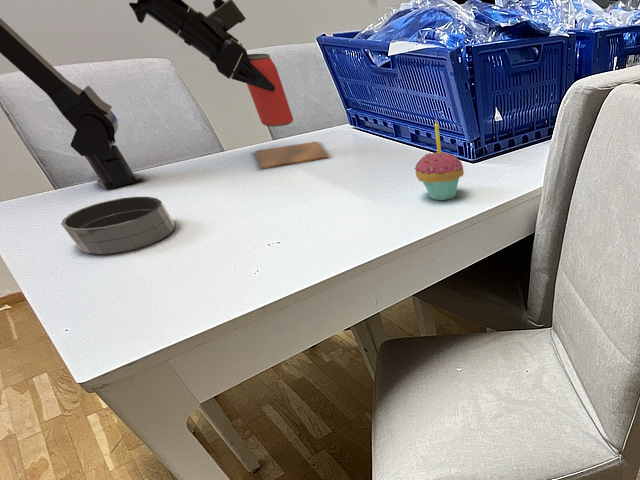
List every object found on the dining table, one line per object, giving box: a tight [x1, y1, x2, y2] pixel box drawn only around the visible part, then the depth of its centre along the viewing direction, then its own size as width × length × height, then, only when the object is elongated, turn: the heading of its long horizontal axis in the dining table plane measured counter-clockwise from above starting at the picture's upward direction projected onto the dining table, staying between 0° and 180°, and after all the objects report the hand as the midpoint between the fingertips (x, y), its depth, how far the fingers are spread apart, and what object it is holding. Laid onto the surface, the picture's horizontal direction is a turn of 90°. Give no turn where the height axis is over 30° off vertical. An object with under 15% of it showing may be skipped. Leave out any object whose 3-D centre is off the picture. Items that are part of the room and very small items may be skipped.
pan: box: [60, 196, 175, 255], centre depth 71 cm, size 13×13×4 cm
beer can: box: [246, 53, 294, 128], centre depth 94 cm, size 7×7×12 cm
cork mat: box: [254, 141, 329, 170], centre depth 102 cm, size 14×14×1 cm
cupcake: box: [414, 117, 465, 201], centre depth 78 cm, size 9×8×12 cm
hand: (272, 87), depth 94 cm, fingers closed on beer can, 6 cm apart
